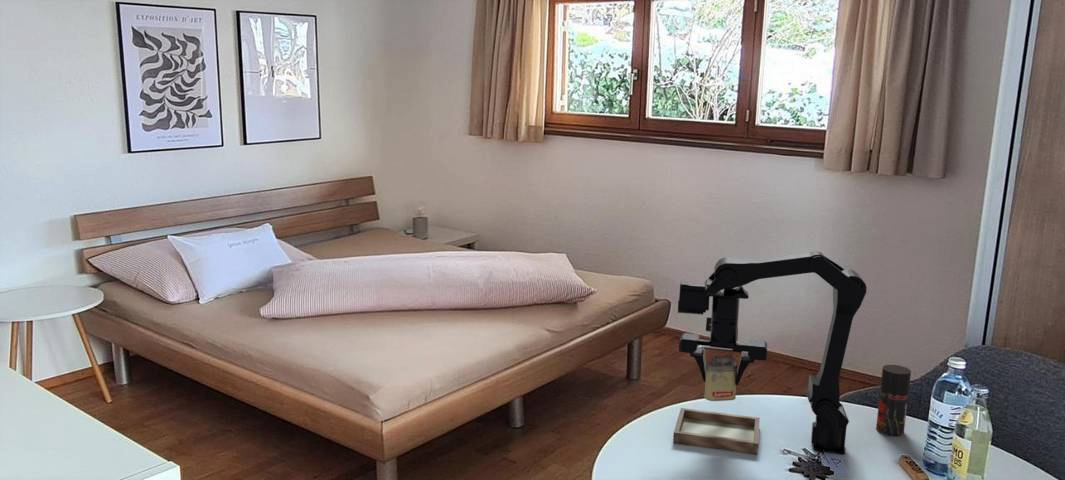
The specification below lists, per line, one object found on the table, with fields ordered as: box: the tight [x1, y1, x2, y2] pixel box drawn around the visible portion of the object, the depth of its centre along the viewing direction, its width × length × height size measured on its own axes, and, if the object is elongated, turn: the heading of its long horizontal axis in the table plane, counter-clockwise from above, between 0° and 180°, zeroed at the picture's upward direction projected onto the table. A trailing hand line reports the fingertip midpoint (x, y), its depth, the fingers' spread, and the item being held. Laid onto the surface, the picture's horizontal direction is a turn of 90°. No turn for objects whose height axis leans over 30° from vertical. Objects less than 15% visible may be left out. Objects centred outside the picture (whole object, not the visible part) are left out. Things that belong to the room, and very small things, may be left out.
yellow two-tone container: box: [703, 354, 738, 402], centre depth 188 cm, size 7×4×10 cm, turn 99°
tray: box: [672, 407, 761, 456], centre depth 190 cm, size 18×14×3 cm
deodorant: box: [875, 364, 912, 438], centre depth 193 cm, size 6×6×15 cm
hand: (720, 383), depth 188 cm, fingers closed on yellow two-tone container, 7 cm apart
